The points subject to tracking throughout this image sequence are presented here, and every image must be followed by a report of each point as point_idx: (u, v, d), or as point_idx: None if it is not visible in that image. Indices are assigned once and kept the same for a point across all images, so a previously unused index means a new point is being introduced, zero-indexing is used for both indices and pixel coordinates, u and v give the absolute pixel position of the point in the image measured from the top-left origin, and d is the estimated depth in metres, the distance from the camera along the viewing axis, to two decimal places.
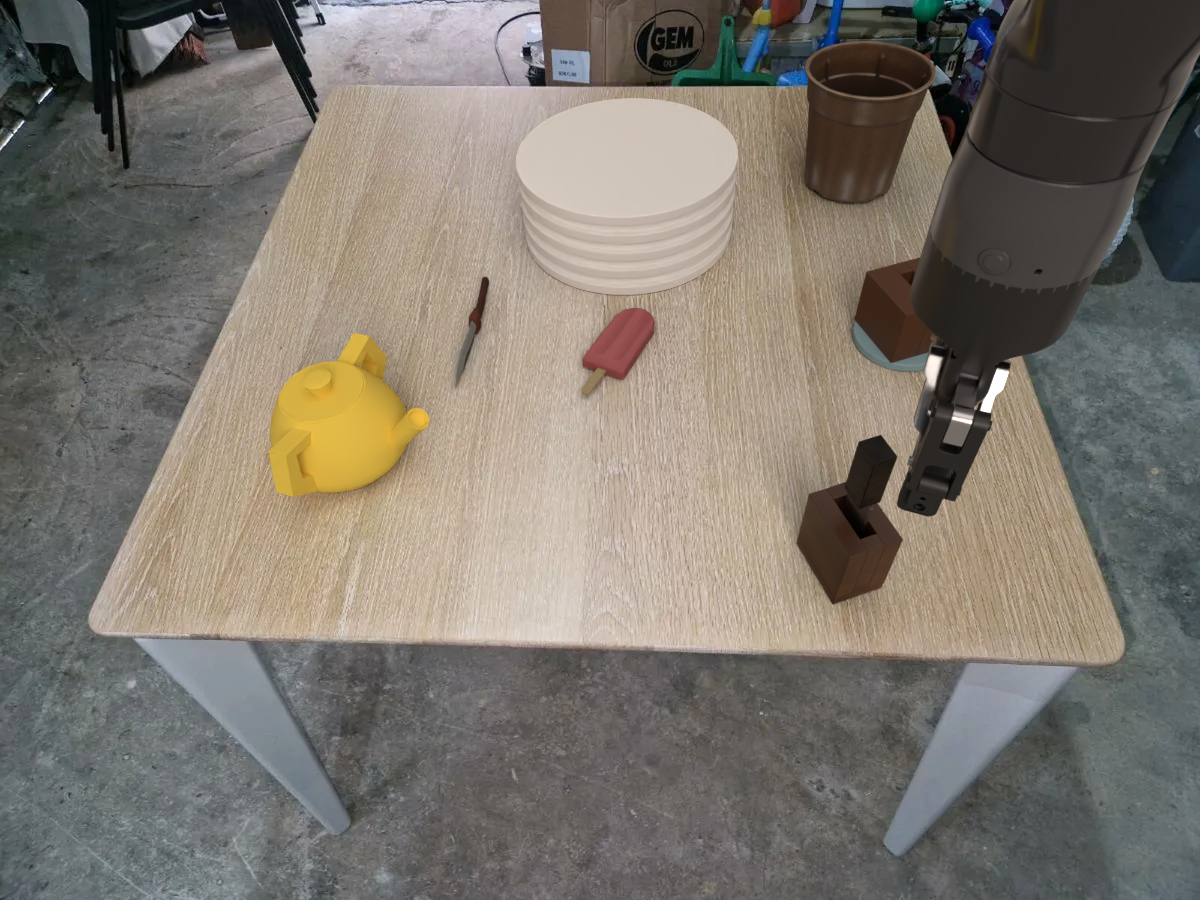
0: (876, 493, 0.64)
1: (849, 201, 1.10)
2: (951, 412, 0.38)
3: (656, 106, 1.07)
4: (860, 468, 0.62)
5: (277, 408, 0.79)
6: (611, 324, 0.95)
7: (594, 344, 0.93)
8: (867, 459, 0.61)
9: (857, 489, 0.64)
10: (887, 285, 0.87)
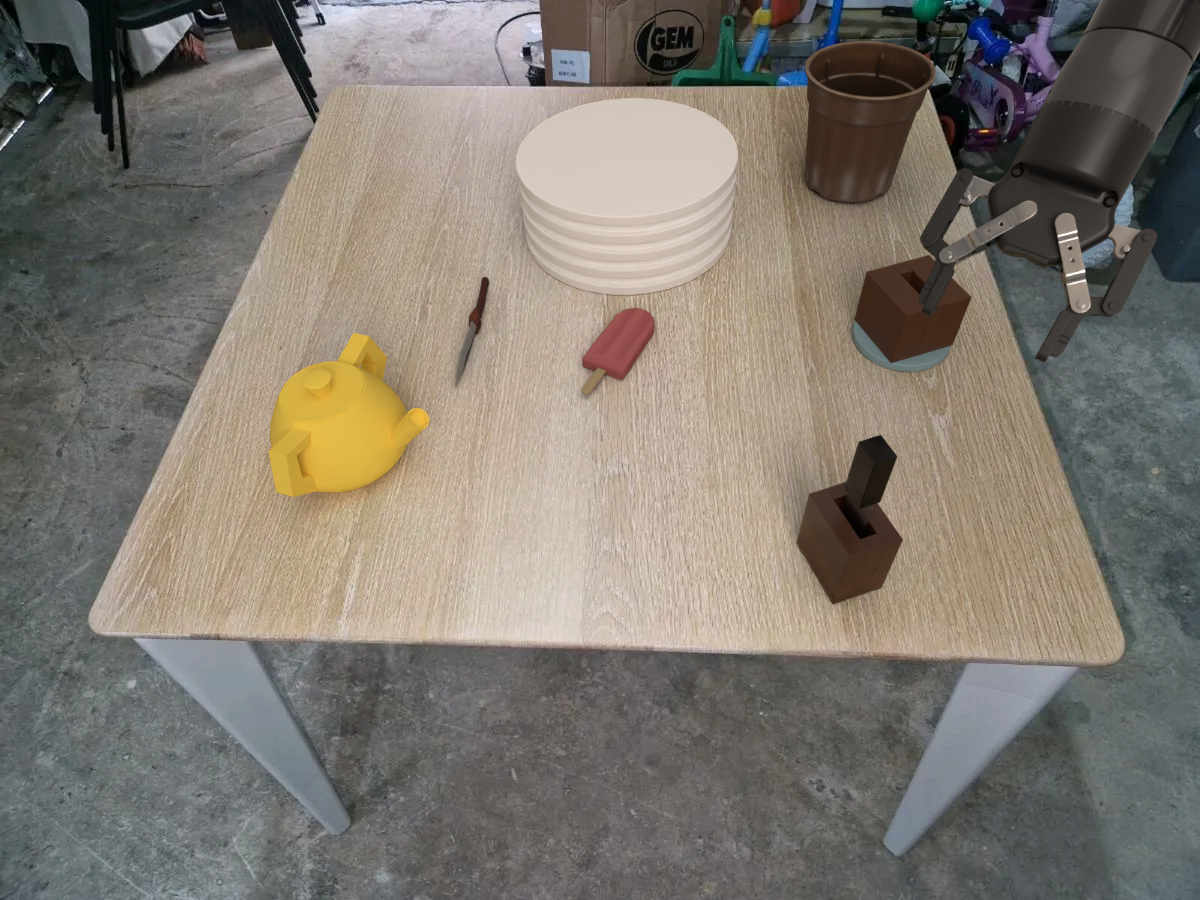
0: (876, 493, 0.64)
1: (849, 201, 1.10)
2: None
3: (656, 106, 1.07)
4: (860, 468, 0.62)
5: (277, 408, 0.79)
6: (611, 324, 0.95)
7: (594, 344, 0.93)
8: (867, 459, 0.61)
9: (857, 489, 0.64)
10: (887, 285, 0.87)
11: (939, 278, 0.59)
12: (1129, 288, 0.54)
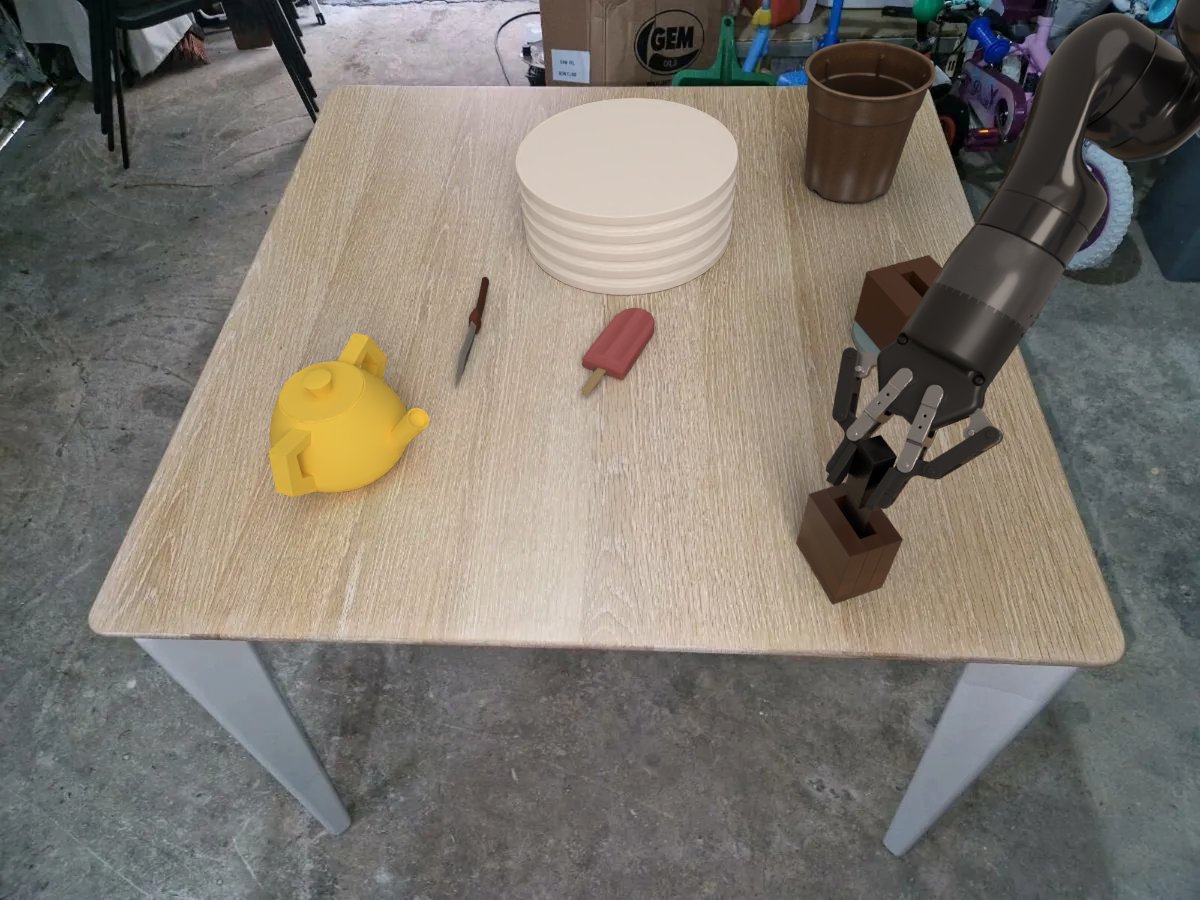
0: None
1: (849, 201, 1.10)
2: None
3: (656, 106, 1.07)
4: (859, 468, 0.62)
5: (277, 408, 0.79)
6: (611, 324, 0.95)
7: (594, 344, 0.93)
8: (867, 459, 0.61)
9: (856, 489, 0.64)
10: (887, 285, 0.87)
11: (844, 453, 0.63)
12: (950, 465, 0.58)
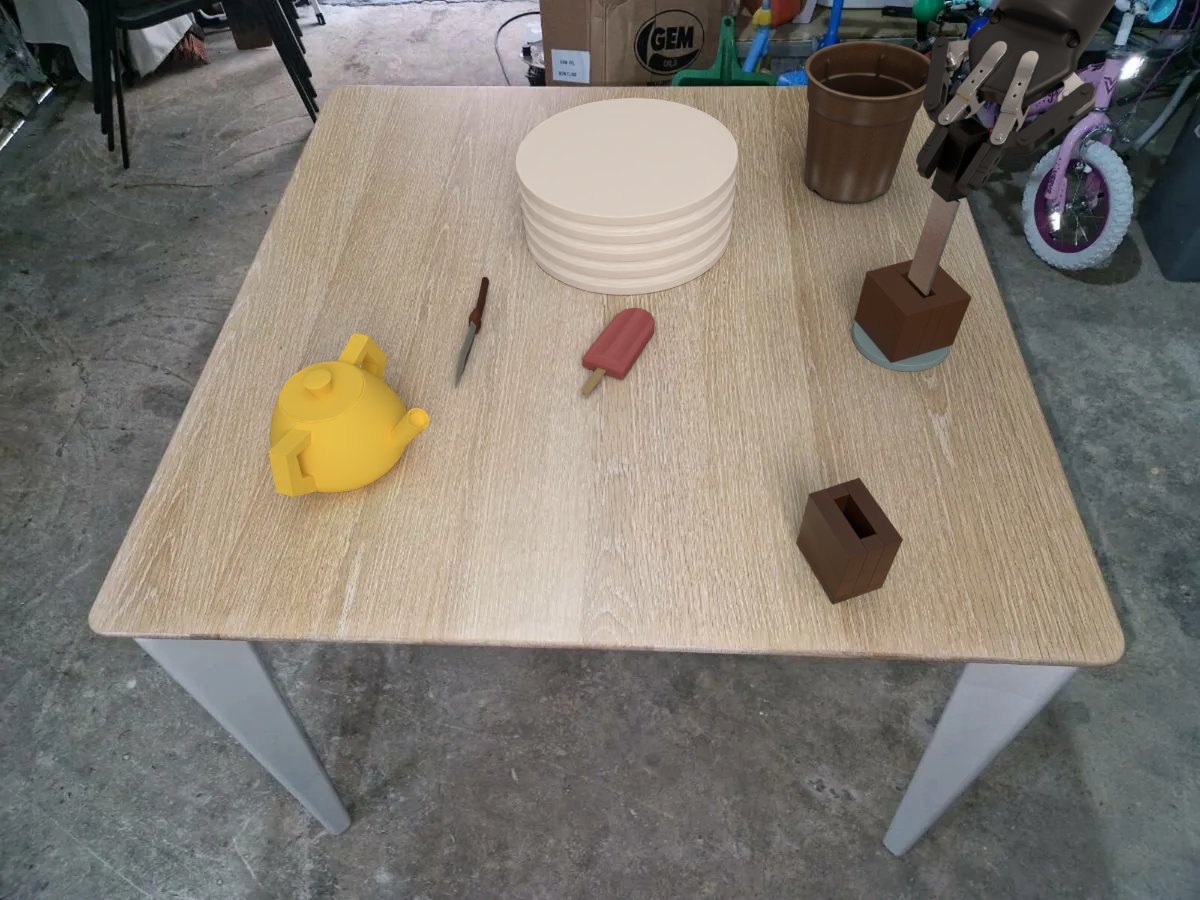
0: None
1: (849, 201, 1.10)
2: None
3: (656, 106, 1.07)
4: (951, 152, 0.64)
5: (277, 408, 0.79)
6: (611, 324, 0.95)
7: (594, 344, 0.93)
8: (960, 136, 0.63)
9: (945, 180, 0.66)
10: (887, 285, 0.87)
11: (936, 138, 0.65)
12: (1045, 128, 0.60)
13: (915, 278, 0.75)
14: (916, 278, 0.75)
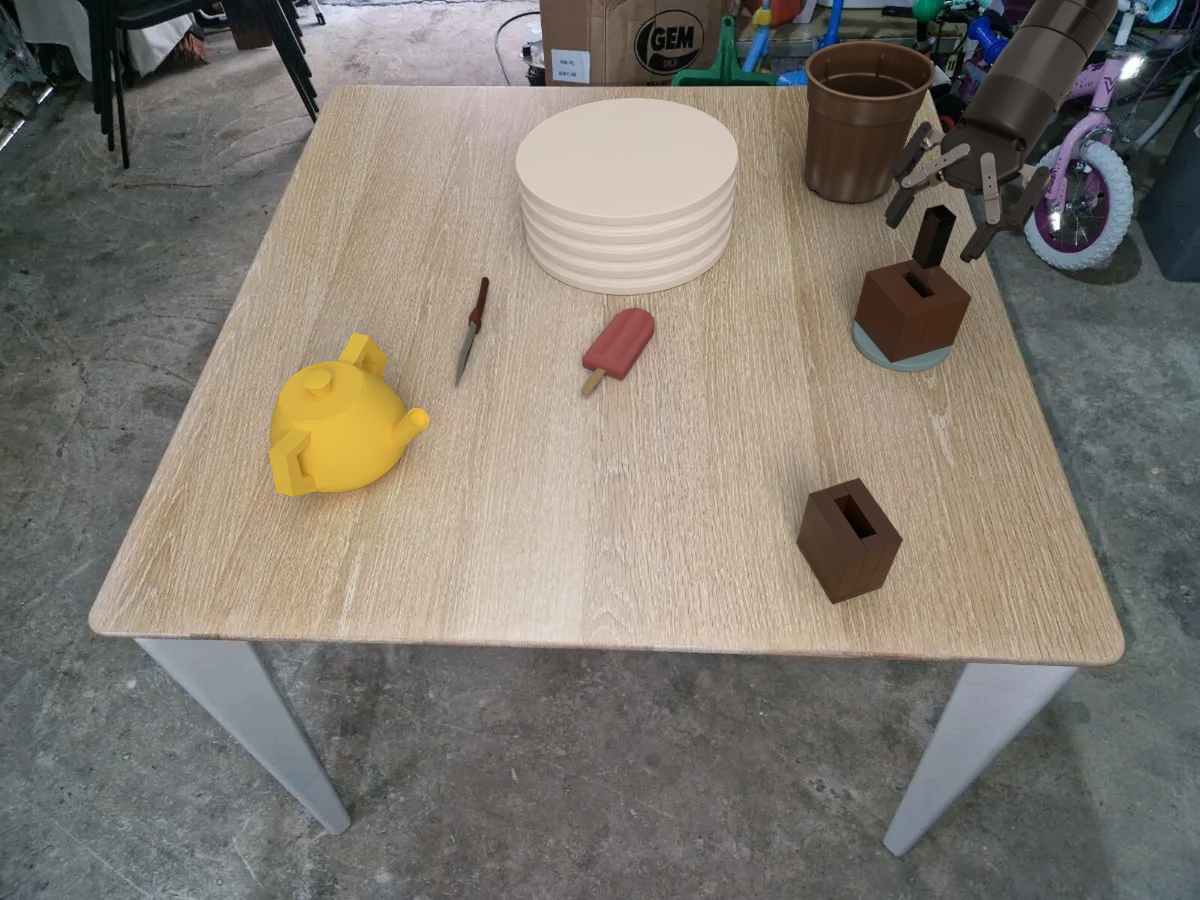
0: (938, 254, 0.82)
1: (849, 201, 1.10)
2: None
3: (656, 106, 1.07)
4: (926, 231, 0.81)
5: (277, 408, 0.79)
6: (611, 324, 0.95)
7: (594, 344, 0.93)
8: (933, 220, 0.80)
9: (922, 252, 0.83)
10: (887, 285, 0.87)
11: (900, 198, 0.82)
12: (1027, 207, 0.75)
13: None
14: None
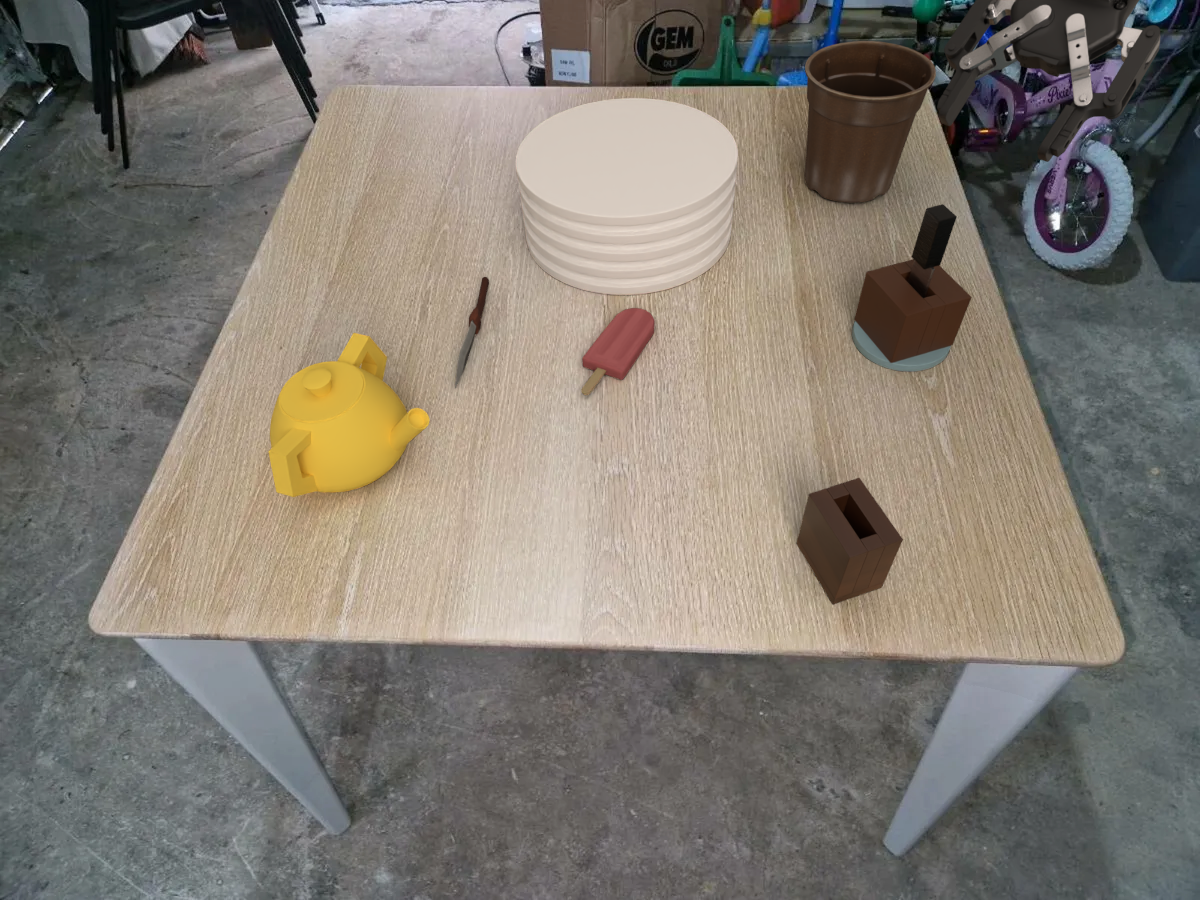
0: (938, 254, 0.82)
1: (849, 201, 1.10)
2: None
3: (656, 106, 1.07)
4: (926, 231, 0.81)
5: (277, 408, 0.79)
6: (611, 324, 0.95)
7: (594, 344, 0.93)
8: (933, 220, 0.80)
9: (922, 252, 0.83)
10: (887, 285, 0.87)
11: (957, 83, 0.65)
12: (1129, 80, 0.58)
13: None
14: None
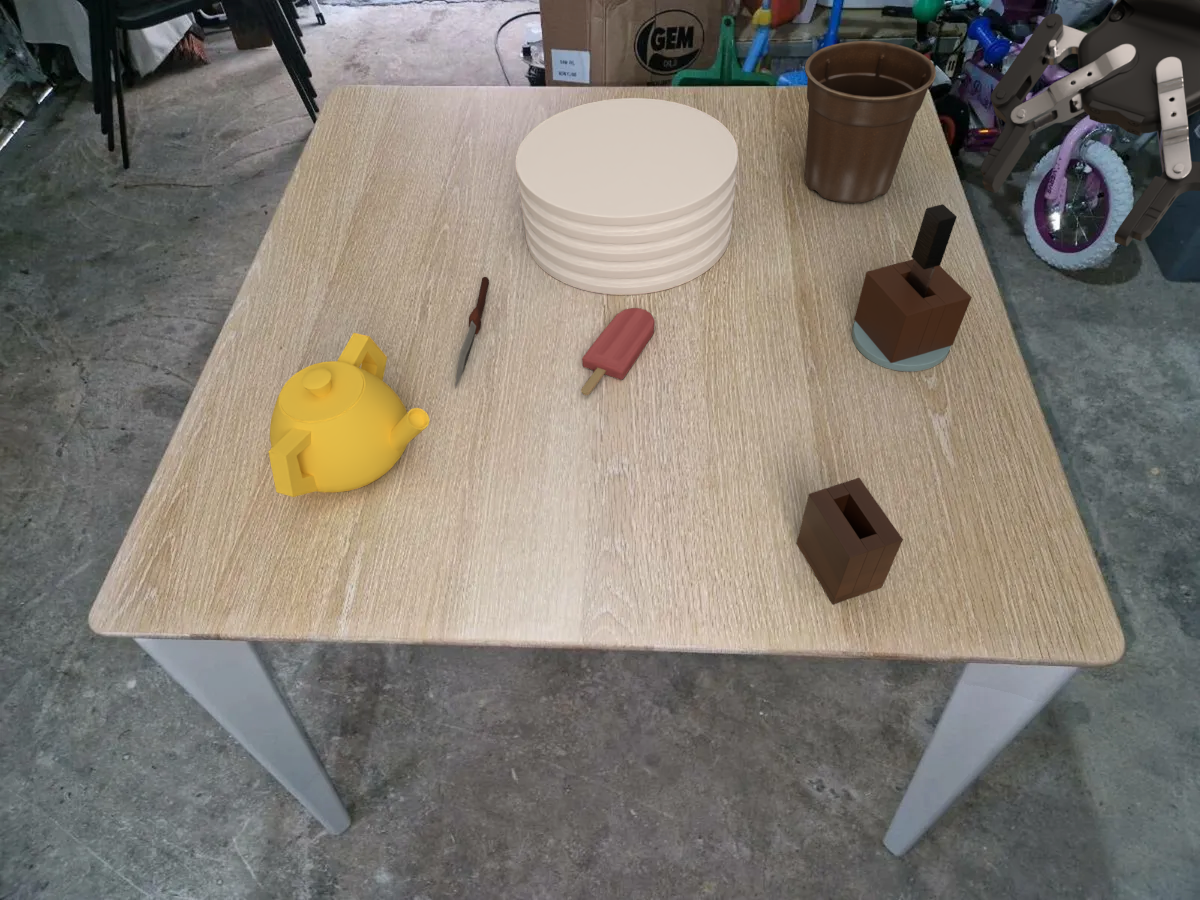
0: (938, 254, 0.82)
1: (849, 201, 1.10)
2: None
3: (656, 106, 1.07)
4: (926, 231, 0.81)
5: (277, 408, 0.79)
6: (611, 324, 0.95)
7: (594, 344, 0.93)
8: (933, 220, 0.80)
9: (922, 252, 0.83)
10: (887, 285, 0.87)
11: (1008, 141, 0.50)
12: None
13: None
14: None
